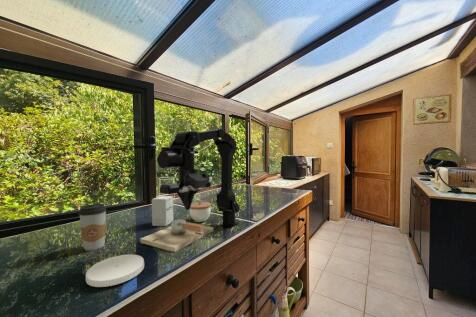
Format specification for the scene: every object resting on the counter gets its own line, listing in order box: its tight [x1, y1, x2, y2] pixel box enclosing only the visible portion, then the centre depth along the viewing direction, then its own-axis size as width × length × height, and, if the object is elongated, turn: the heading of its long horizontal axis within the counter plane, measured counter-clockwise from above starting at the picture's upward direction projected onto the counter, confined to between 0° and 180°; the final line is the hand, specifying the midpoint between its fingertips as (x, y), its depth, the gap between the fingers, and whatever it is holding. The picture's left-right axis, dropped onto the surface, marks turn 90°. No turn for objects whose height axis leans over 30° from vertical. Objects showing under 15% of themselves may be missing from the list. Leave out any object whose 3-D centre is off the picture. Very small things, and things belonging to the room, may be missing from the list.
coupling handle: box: [170, 218, 205, 235], centre depth 84 cm, size 15×6×4 cm, turn 60°
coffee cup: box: [78, 203, 107, 252], centre depth 78 cm, size 8×8×15 cm
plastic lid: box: [85, 254, 145, 288], centre depth 60 cm, size 14×14×2 cm
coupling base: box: [139, 225, 214, 253], centre depth 86 cm, size 22×18×2 cm
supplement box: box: [151, 195, 174, 227], centre depth 103 cm, size 7×7×13 cm
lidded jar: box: [189, 200, 212, 223], centre depth 108 cm, size 11×11×9 cm
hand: (187, 209), depth 78 cm, fingers closed
